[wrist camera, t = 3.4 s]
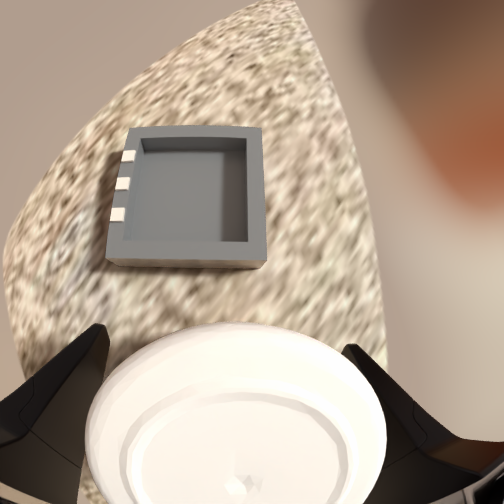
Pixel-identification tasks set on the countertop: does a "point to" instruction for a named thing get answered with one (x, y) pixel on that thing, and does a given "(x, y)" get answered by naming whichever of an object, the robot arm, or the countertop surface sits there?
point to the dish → (189, 199)
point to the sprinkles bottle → (235, 421)
